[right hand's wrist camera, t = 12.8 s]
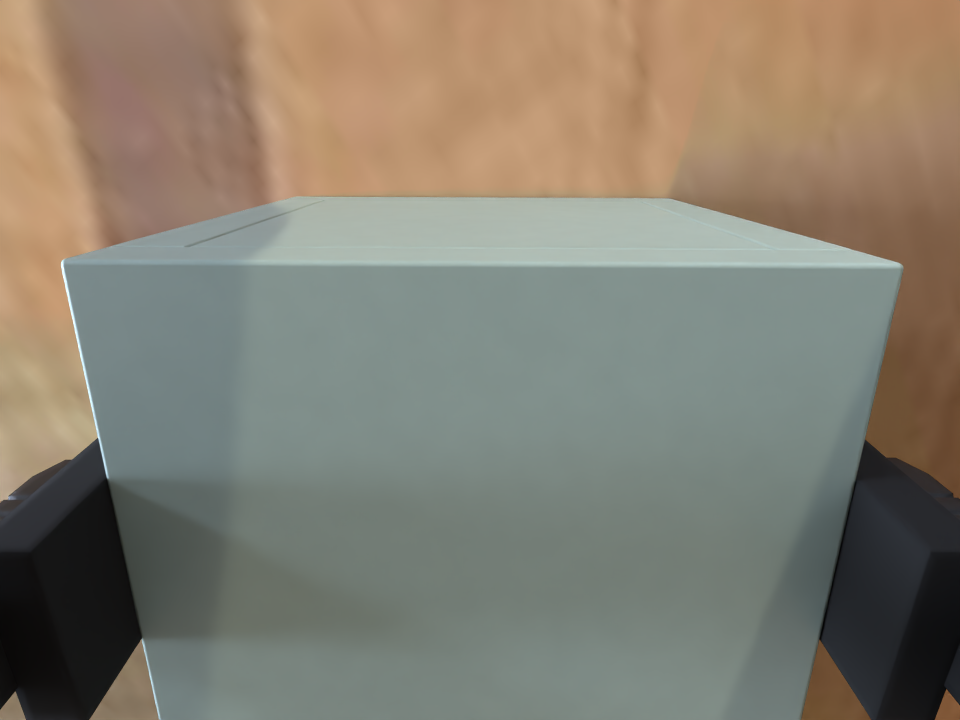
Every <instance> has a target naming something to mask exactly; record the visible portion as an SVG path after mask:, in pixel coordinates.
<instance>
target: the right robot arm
mask: <svg viewBox="0 0 960 720" xmlns="http://www.w3.org/2000/svg"><path fill="white" fill-rule="evenodd" d="M141 639H142V637H141V633H140V628H139V624H138V619H137V615H136V610H135V605H134V601H133V596H132V591H131V587H130V582H129V578H128V573H127V568H126V564H125V559H124V554H123V550H122V545H121V541H120V536H119V531H118V527H117V522H116V517H115V513H114V508H113V504H112V499H111V494H110V490H109V485H108V480H107V476H106V471H105V467H104V462H103V457H102V453H101V448H100V443H99V439H98V438H97V439H96V440H95V441H94V442H93V443H91V444H90V445H89V446H88V447H87V448H85V449H84V450H83V451H82V452H81V453H80V454H78V455H77V456H76V457H75V458H74V459H73V460H64V461H62V462H60V463H58V464H56V465H54V466H52V467H50V468H48V469H46V470H45V471H43V472H41V473H39V474H37V475H35V476H33V477H31V478H30V479H29V480H28V481H27V482H25V483H24V484H23V485H22V486H20V487H19V488H18V489H17V490H15V491H14V492H13V493H12V494H10V495H9V498H8V500H3V501H2V502H1V503H0V709H1V708H2V707H3V706H4V704H5V703H6V702H7V701H8V699H9V698H10V697H11V696H12V694H13V693H14V692H15V691H16V694H17V696H18V699H19V702H20V704H21V707H22V710H23V712H24V715H25V718H26V720H89V719H90V718H91V716H92V715H93V713H94V711H95V710H96V708H97V707H98V705H99V704H100V702H101V701H102V699H103V697H104V696H105V694H106V693H107V691H108V690H109V688H110V687H111V685H112V684H113V682H114V680H115V679H116V677H117V676H118V674H119V673H120V671H121V670H122V668H123V666H124V665H125V663H126V662H127V660H128V659H129V657H130V656H131V654H132V653H133V651H134V649H135V648H136V646H137V645H138V643H139V642H140V640H141ZM820 640H821V642H822V644H823V645H824V647H825V648H826V650H827V651H828V653H829V654H830V656H831V658H832V659H833V661H834V662H835V664H836V665H837V667H838V668H839V670H840V671H841V673H842V675H843V676H844V678H845V679H846V681H847V682H848V684H849V685H850V687H851V689H852V690H853V692H854V693H855V695H856V696H857V698H858V699H859V701H860V703H861V704H862V706H863V707H864V709H865V710H866V712H867V713H868V715H869V716H870V718H871V720H935V717H936V715H937V712H938V709H939V707H940V704H941V701H942V699H943V696H944V693H945V691H946V689H947V690H948V691H949V692H950V694H951V695H952V696H953V697H954V699H955V700H956V701H957V702H958V704H959V705H960V499H959V498H954V497H953V493H951V492H950V491H949V490H948V489H946V488H945V487H944V486H943V485H942V484H940V483H939V482H938V481H937V480H935V479H934V478H933V477H932V476H930V475H929V474H927V473H925V472H923V471H921V470H919V469H917V468H915V467H913V466H911V465H909V464H907V463H905V462H903V461H901V460H899V459H897V458H886V457H885V456H884V455H882V454H881V453H880V452H879V451H878V450H877V449H875V448H874V447H873V446H872V445H871V444H869V443H868V442H867V441H866V440H865V441H864V445H863V449H862V454H861V458H860V463H859V467H858V471H857V476H856V480H855V485H854V489H853V493H852V498H851V502H850V507H849V511H848V515H847V520H846V524H845V529H844V533H843V537H842V542H841V546H840V551H839V555H838V559H837V564H836V568H835V573H834V577H833V581H832V586H831V590H830V595H829V599H828V603H827V608H826V612H825V617H824V621H823V625H822V630H821V634H820Z"/></svg>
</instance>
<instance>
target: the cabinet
mask: <svg viewBox="0 0 960 720" xmlns="http://www.w3.org/2000/svg"><path fill="white" fill-rule="evenodd" d="M61 268H62V272H63V277H64V282H65V286H66V291H67V295H68V300H69V305H70V309H71V314H72V319H73V323H74V328H75V332H76V337H77V342H78V346H79V351H80V356H81V360H82V365H83V369H84V374H85V379H86V383H87V388H88V393H89V397H90V402H91V406H92V411H93V416H94V420H95V425H96V430H97V434H98V439H99V443H100V448H101V453H102V457H103V462H104V467H105V471H106V476H107V480H108V485H109V490H110V494H111V499H112V504H113V508H114V513H115V517H116V522H117V527H118V531H119V536H120V541H121V545H122V550H123V554H124V559H125V564H126V568H127V573H128V578H129V582H130V587H131V591H132V596H133V601H134V605H135V610H136V615H137V619H138V624H139V628H140V633H141V637H142V642H143V647H144V652H145V656H146V661H147V665H148V670H149V675H150V679H151V684H152V689H153V693H154V698H155V702H156V707H157V712H158V716H159V720H801V718H802V713H803V709H804V705H805V700H806V696H807V691H808V687H809V683H810V678H811V674H812V669H813V665H814V661H815V656H816V652H817V647H818V643H819V639H820V634H821V630H822V625H823V621H824V617H825V612H826V608H827V603H828V599H829V595H830V590H831V586H832V581H833V577H834V573H835V568H836V564H837V559H838V555H839V551H840V546H841V542H842V537H843V533H844V529H845V524H846V520H847V515H848V511H849V507H850V502H851V498H852V493H853V489H854V485H855V480H856V476H857V471H858V467H859V463H860V458H861V454H862V449H863V445H864V441H865V436H866V432H867V427H868V423H869V419H870V414H871V410H872V405H873V401H874V397H875V392H876V388H877V383H878V379H879V375H880V370H881V366H882V361H883V357H884V353H885V348H886V344H887V339H888V335H889V331H890V326H891V322H892V317H893V313H894V309H895V304H896V300H897V295H898V291H899V287H900V282H901V278H902V273H903V265H902V264H900V263H898V262H894V261H891V260H887V259H883V258H880V257H876V256H873V255H869V254H866V253H862V252H859V251H855V250H852V249H849V248H845V247H842V246H838V245H835V244H831V243H827V242H824V241H820V240H817V239H813V238H810V237H806V236H802V235H799V234H795V233H792V232H788V231H785V230H781V229H777V228H774V227H770V226H767V225H763V224H760V223H756V222H752V221H749V220H745V219H742V218H738V217H735V216H731V215H727V214H724V213H720V212H717V211H713V210H710V209H706V208H702V207H699V206H695V205H692V204H688V203H684V202H680V201H677V200H673V199H670V198H488V197H292V198H289V199H285V200H281V201H277V202H273V203H270V204H266V205H262V206H259V207H255V208H251V209H247V210H244V211H240V212H236V213H232V214H229V215H225V216H221V217H218V218H214V219H210V220H206V221H203V222H199V223H195V224H191V225H188V226H184V227H180V228H177V229H173V230H169V231H165V232H162V233H158V234H154V235H151V236H147V237H143V238H139V239H136V240H132V241H128V242H124V243H121V244H117V245H114V246H111V247H107V248H103V249H100V250H96V251H92V252H89V253H85V254H81V255H77V256H74V257H70V258H67V259H64V260H63V261H62V262H61Z"/></svg>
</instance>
